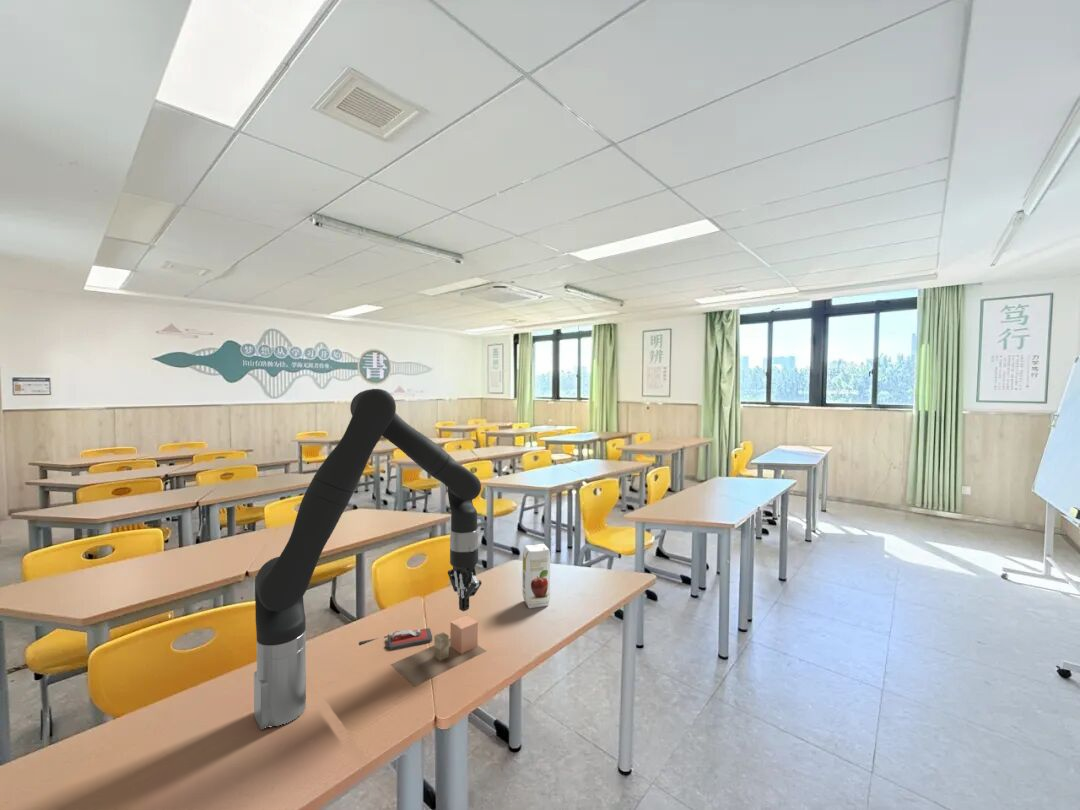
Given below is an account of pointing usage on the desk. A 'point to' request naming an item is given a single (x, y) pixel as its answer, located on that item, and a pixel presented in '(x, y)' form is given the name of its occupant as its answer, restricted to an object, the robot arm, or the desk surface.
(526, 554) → the juice carton
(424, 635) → the walkie-talkie
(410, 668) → the board
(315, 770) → the desk surface
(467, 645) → the peach cube
